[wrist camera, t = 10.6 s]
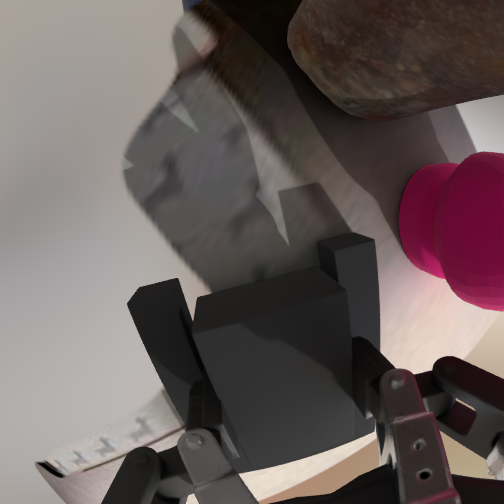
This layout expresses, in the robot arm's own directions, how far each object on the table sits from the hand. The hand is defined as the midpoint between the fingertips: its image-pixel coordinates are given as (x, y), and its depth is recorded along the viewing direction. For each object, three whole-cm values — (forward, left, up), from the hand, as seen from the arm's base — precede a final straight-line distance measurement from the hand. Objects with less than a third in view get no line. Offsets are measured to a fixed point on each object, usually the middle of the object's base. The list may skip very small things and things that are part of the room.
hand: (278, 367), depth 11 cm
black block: (0, 0, -1) cm, 1 cm away
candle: (-13, +7, -2) cm, 15 cm away
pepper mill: (-4, +11, -2) cm, 12 cm away
